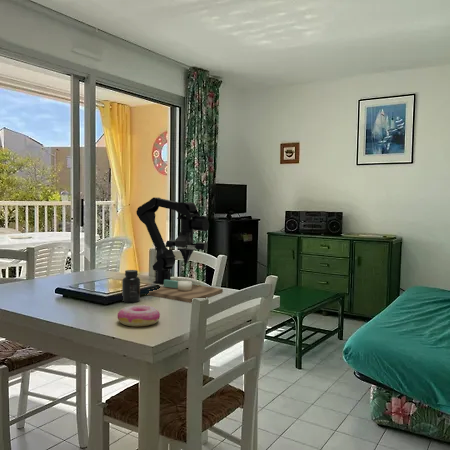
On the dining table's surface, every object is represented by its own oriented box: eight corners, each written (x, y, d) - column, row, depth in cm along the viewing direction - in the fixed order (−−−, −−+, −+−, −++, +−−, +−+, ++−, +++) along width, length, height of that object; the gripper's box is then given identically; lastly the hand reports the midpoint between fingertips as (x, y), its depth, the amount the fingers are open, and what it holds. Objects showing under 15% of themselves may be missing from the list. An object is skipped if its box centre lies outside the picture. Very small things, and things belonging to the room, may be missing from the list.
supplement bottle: (141, 299, 181) (142, 269, 180) (136, 303, 174) (137, 272, 173) (125, 298, 181) (125, 268, 181) (119, 302, 175) (120, 271, 174)
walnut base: (144, 294, 190) (144, 290, 189) (177, 285, 210) (178, 281, 210) (192, 303, 178) (192, 298, 178) (222, 292, 199) (222, 288, 199)
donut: (167, 323, 150) (168, 308, 149) (135, 331, 140) (135, 316, 139) (142, 315, 159) (142, 301, 158) (110, 322, 149) (110, 307, 148)
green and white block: (194, 288, 196) (194, 281, 195) (187, 291, 190) (187, 283, 190) (168, 285, 201) (168, 278, 200) (160, 287, 195) (161, 280, 195)
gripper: (160, 229, 201) (159, 264, 202) (199, 232, 196) (198, 267, 197) (171, 228, 212) (170, 261, 213) (208, 230, 206) (207, 264, 207)
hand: (186, 263), depth 207 cm, fingers closed
